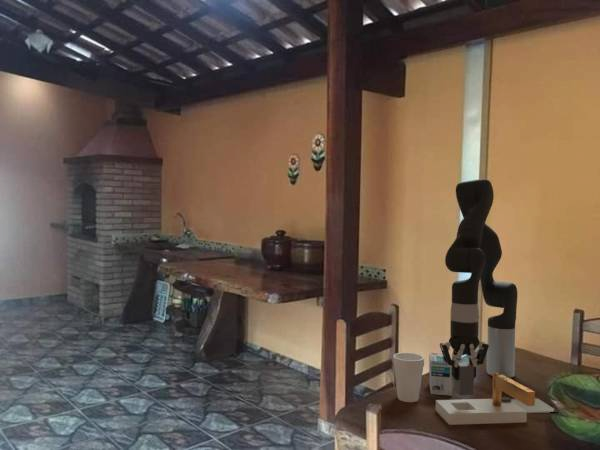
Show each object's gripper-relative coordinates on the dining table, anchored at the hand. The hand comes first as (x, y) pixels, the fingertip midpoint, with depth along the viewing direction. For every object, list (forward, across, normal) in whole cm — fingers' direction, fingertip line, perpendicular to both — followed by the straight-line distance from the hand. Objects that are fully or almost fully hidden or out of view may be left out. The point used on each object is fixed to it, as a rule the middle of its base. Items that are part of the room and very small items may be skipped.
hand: (463, 378), depth 139 cm
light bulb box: (+11, -2, -22) cm, 25 cm away
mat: (+11, -24, -6) cm, 27 cm away
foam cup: (+11, +11, -15) cm, 22 cm away
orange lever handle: (+8, -10, +7) cm, 15 cm away
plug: (+4, 0, 0) cm, 4 cm away
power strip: (+11, -5, 0) cm, 12 cm away
